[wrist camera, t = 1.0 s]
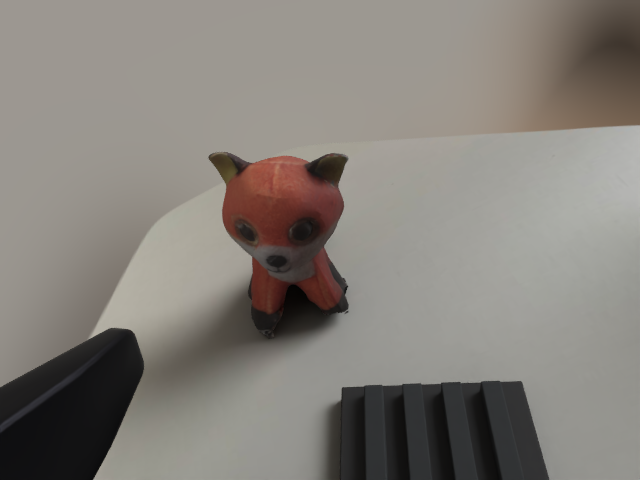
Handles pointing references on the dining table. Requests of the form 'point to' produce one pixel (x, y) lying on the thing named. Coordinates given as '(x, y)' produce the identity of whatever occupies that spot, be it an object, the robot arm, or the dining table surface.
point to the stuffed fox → (285, 229)
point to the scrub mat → (439, 433)
